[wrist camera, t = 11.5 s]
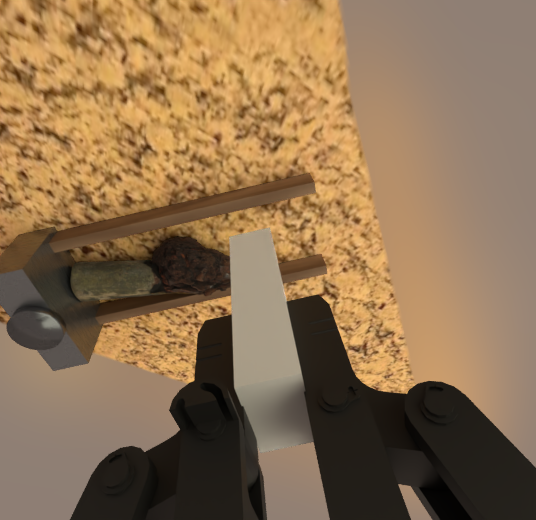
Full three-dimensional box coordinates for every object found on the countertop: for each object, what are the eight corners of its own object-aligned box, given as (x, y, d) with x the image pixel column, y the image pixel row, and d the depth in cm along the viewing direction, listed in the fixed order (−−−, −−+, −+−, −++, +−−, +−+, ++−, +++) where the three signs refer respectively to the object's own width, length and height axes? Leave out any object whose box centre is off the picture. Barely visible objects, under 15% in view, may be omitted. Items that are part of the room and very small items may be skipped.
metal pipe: (92, 287, 46) (76, 318, 42) (74, 239, 43) (55, 267, 38) (237, 275, 47) (239, 304, 43) (233, 227, 44) (234, 253, 39)
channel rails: (57, 231, 41) (48, 243, 39) (309, 172, 41) (314, 182, 38) (104, 310, 48) (99, 324, 46) (322, 262, 47) (327, 273, 45)
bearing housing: (14, 235, 41) (-32, 286, 34) (58, 225, 41) (22, 274, 34) (72, 321, 48) (45, 379, 41) (110, 313, 48) (90, 369, 41)
